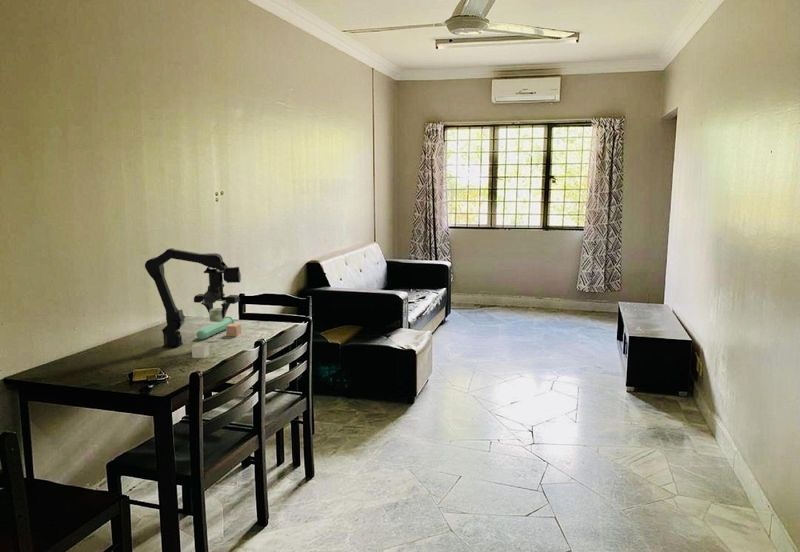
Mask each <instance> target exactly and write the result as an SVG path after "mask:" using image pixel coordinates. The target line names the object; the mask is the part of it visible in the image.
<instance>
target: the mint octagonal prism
mask: <svg viewBox="0 0 800 552" xmlns="http://www.w3.org/2000/svg"><path fill="white" fill-rule="evenodd" d="M230 323H232V324H235V319H234V318H233V317H232V316H230V315H229V316H226V319H225V320H223V321H222V322H213V323H211V324H209V325H206V326H204V327H203V328H200V329H199V330H198V331H197V332H196V337H197V338H198V340H201V339H202V340H203V339H204V340H206V339H208V338H210V336H211V337H212V335H213V336H214V334H215V335H217V334H219V333H221V332H223V331H225V330H226V326H227V325H229V324H230ZM216 333H217V334H216Z"/></svg>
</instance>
